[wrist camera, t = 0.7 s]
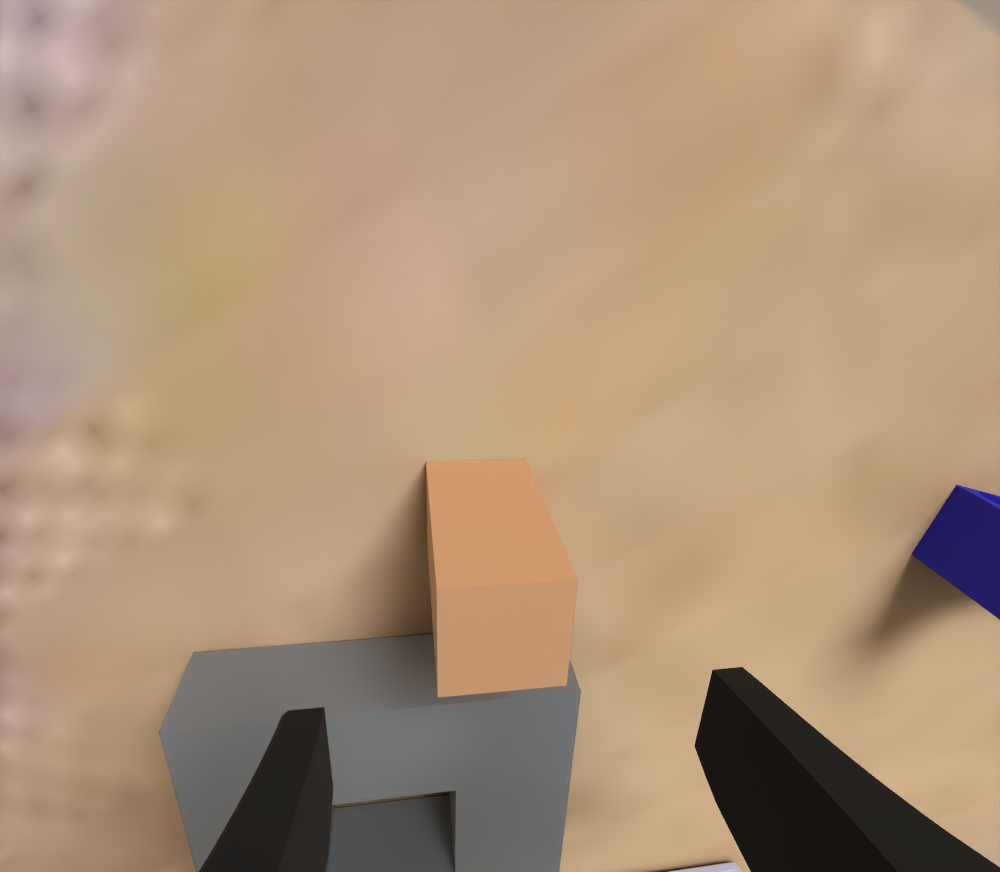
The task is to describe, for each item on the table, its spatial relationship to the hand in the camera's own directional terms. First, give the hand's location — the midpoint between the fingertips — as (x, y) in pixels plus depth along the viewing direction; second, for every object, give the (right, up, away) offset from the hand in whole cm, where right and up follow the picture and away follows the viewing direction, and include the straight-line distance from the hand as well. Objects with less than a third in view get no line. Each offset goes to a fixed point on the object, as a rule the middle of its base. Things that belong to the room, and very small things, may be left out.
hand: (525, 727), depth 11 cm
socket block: (-5, -7, +11) cm, 14 cm away
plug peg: (-1, +3, +8) cm, 8 cm away
